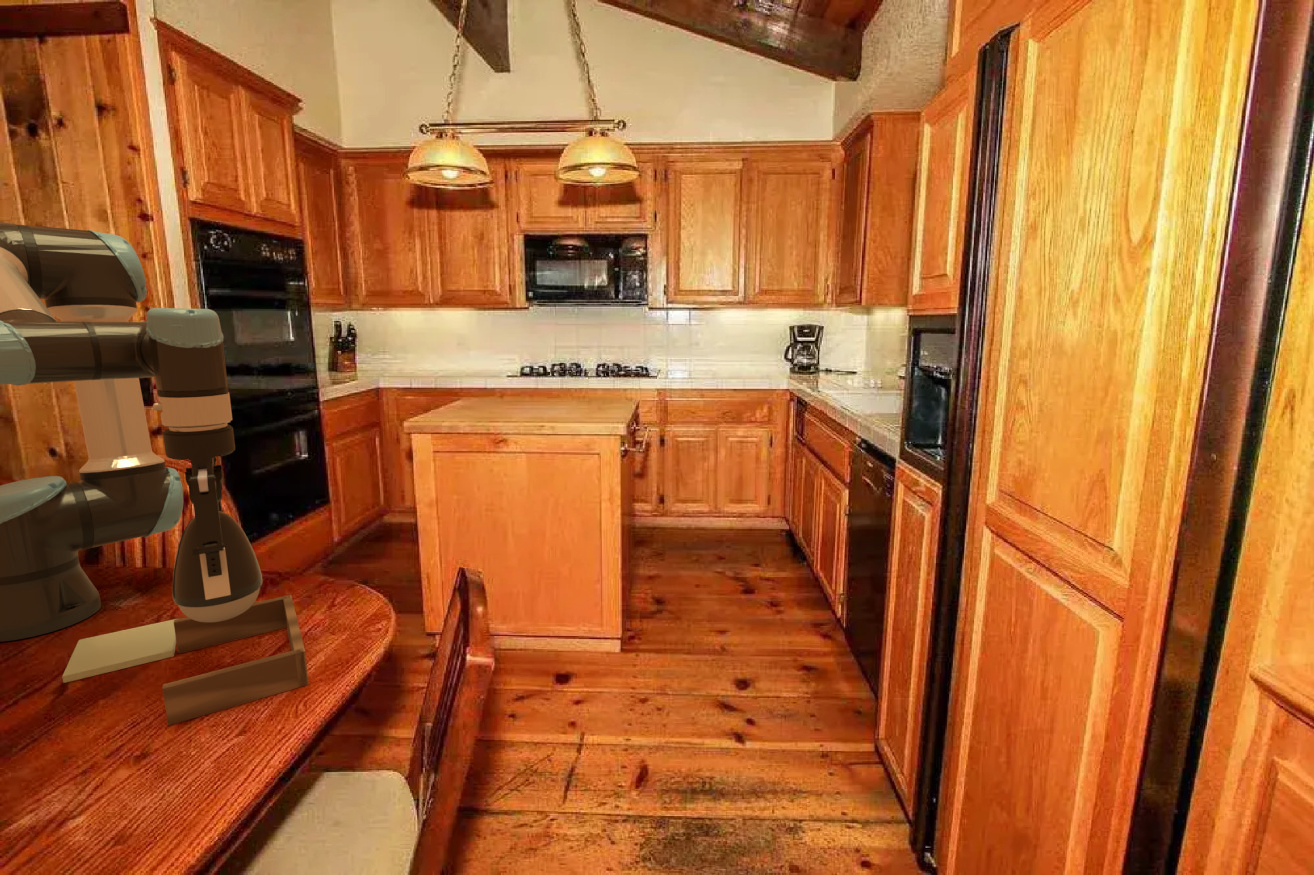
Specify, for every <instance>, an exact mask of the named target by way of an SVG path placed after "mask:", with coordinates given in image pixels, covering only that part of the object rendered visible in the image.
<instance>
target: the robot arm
mask: <svg viewBox="0 0 1314 875" xmlns="http://www.w3.org/2000/svg"><path fill="white" fill-rule="evenodd" d="M146 285H147V280H146V275H145V271H144V268H143V266H142V263H141V261H140V258H139V256H138V253H137V252H136V250H135V249H134V247H133V246H132V244H131V243H130V242H128V240H126V239H125V238H124V237H122V236H120V235H117V234H113V233H108V232H107V233H106V232H99V231H94V230H91V229H88V230H86V229H75V228H74V229H73V228H64V227H63V228H62V227H61V228H60V227H49V226H39V225H29V224H28V225H26V224H17V223H10V222H9V223H8V222H7V223H6V222H0V385H13V386H26V385H32V384H47V383H48V384H50V383H64V382H73V386H74V390H75V394H76V400H77V406H78V411H79V416H80V421H81V427H82V430H83V435H84V436H83V437H84V440H85V441H84V442H85V447H86V451H87V457H88V460H87V461H86V463H85V464H83V466H81V468H80V469H79V470H78V473H79V474H78V475H79V478H80V481H76V482H69V483H67V480H65V478H63V477H62V476H58V475H49V476H48V475H47V476H42V477H33V478H28V479H21V480H17V481H13V482H9V483H3V484H2V485H0V642H10V641H11V642H12V641H17V640H23V639H27V638H33V637H36V636H42V635H44V634H49V633H51V632H55V631H58V630H62V629H65V628H68V627H70V626H73V625H75V624H77V623H80V622H81V621H84V620H86V619H88V618H90V617H91V616H93V615H95V614H96V613H97V612H99V611H100V609H101V607H102V601H101V597H100V596H101V595H100V593H99V591H98V590H97V588H96V587H95V585H94V583H93V582H92V581H91V579H90V578H89V577H88V575H87V574H86V572H85V571H84V570H83V568H82V567H81V565H80V558H79V551H83V550H87V549H92V548H97V547H102V546H106V545H110V544H114V543H119V542H124V541H129V540H132V539H136V538H137V539H138V538H142V537H144V538H148V537H150V536H153V535H156V534H160V533H165V532H167V531H169V530H172V529H174V528H175V527H176V526H177V525H178V523H179V521H180V519H181V517H182V515H183V514H182V513H183V509H184V490H183V489H184V488H183V483H182V481H181V476H180V473H179V472H178V471H177V469H175V468H174V467H168V466H167V467H166V461H165V459H164V458H163V457H160V456H159V455H157V454H156V453H155V452H154V451H153V450H152V444H151V443H152V442H151V437H150V432H149V427H148V420H147V417H146V410H145V405H144V400H143V394H142V389H141V383H140V379H142V378H143V379H145V378H154V379H155V380H154V381H155V386H156V394H157V396H158V397H157V398H158V399H157V400H158V401H159V402H155V403H153V405H152V409H153V410H154V411H162V412H161V413H160V420H161V425H162V426H163V427H166V429H165V430H164V432H162V437H163V438H162V439H163V446H164V454H165V456H166V457H167V458H168V459H172V460H176V461H184V460H188V461H190V463H191V465H190V466H191V467H186V468H185V472H184V476H185V477H184V478H185V482H186V485H187V486H188V492H189V501H190V502H191V504H193V511H194V517H195V521H196V529H197V538H198V547H197V549H194V550H192V552H193V555H198V554H199V555H200V562H201V569H202V577H203V584H204V591H205V599H206V600H208V599H213V598H218V597H223V596H228V595H231V592H230V584H229V576H228V568H227V560H226V552H225V547H224V543H223V540H222V531H221V522H220V512H219V511H221V512H224V510H223V506H222V500H223V480H224V479H223V478H224V477H223V476H224V474H223V467H222V464H217V457H223V456H227V455H230V454H232V453H233V452H234V451H235V450H236V444H235V442H236V441H235V434H234V427H233V426H232V425H230V424H228V423H231V421H233V413H232V404H231V396H230V392H229V386H228V385H229V384H228V376H227V367H226V359H225V350H224V340H225V339H224V334H223V332H222V327H221V322H220V318H219V315H218V313H217V312H216V311H215V310H213V309H209V308H178V307H177V308H173V307H168V308H167V307H152V308H150V309H149V310H148V311H147V312H146V320H145V321H144V320H143V321H129V320H130V319H131V317H133V316H134V315H136V313H137V312H138V305H137V303H141V302H143V301H145V300H146V298H147V293H148V290H147V286H146ZM42 300H44V302H43V301H42ZM44 303H45V304H44ZM55 317H56V318H57V319H59V320H60V321H58V320H57V319H56V318H55ZM210 541H217V542H211V543H205V542H210Z"/></svg>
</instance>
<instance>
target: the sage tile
mask: <svg viewBox="0 0 1314 875" xmlns="http://www.w3.org/2000/svg"><path fill="white" fill-rule="evenodd" d="M176 619H177V618H174V619H169V620H165V621H161V622H154V623H151V624H150V623H149V624H145V625H142V626H136V627H133V628H127V629H123V630H117V631H114V632H108V633H104V634H100V635H99V634H98V635H95V636H91V637H86V638H81V639H79V640H78V641H77V643H76V646H75V648H74V650H73V652H72V654H71V655H70V656H71V657H70V659H69V661H68V663H67V665H66V666H65V670H64V672H63V674H62V676H61V678H62V682H63V684H64V683H65V684H66V683H70V682H73V681H78V680H81V679H86V678H90V677H94V676H98V675H103V674H106V673H110V672H116V671H118V670H122V669H123V670H124V669H126V668H133V667H136V666H140V665H143V664H148V663H151V662H156V661H160V660H165V659H168V658H172V657H174V656H175V651H176V647H177V642H176V635H175V629H174V620H176Z"/></svg>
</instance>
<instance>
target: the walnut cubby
mask: <svg viewBox="0 0 1314 875" xmlns="http://www.w3.org/2000/svg"><path fill="white" fill-rule="evenodd" d="M175 619H176V620H174V629H175V635H176V647H177V648H176V649H177V653H178V655H179V654H184V653H188V652H191V651H195V650H200V649H204V648H208V647H212V646H216V645H220V644H224V643H229V642H233V641H236V640H237V641H238V640H242V639H245V638H248V637H253V636H257V635H262V634H266V633H270V632H273V631H278V630H282V629H286V631H287V632H286V633H287V636H288V640H289V646H290V651H285V652H282V653H278V654H274V655H270V656H267V657H263V658H262V657H261V658H260V659H259V658H258V659H255V660H251V661H247V662H243V663H239V664H236V665H233V666H228V667H224V668H221V669H217V670H213V671H212V670H211V671H209V672H206V673H202V674H198V675H194V676H190V677H186V678H182V679H179V680H174V681H171V682H168V683H167V682H166V683H164V684H163V683H162V694H163V701H164V708H165V713H166V720H167V725H168V726H172V725H175V724H178V723H182V722H186V721H190V720H192V719H195V718H199V717H202V716H206V715H209V714H213V713H217V712H219V711H224V710H226V709H229V708H233V707H234V708H235V707H237V706H240V705H241V706H242V705H244V704H247V703H251V702H254V701H257V700H261V699H264V698H267V697H272V696H275V695H277V694H281V693H284V692H288V691H292V690H295V689H299V688H302V687H305V686H308V685H310V683H309V674H308V666H307V664H308V663H307V656H306V650H305V646H304V641H303V637H302V633H301V628H300V624H299V621H298V617H297V613H296V609H295V605H294V600H293V597H292V594H289V595H284V596H279V597H274V598H270V599H266V600H265V599H264V600H261V601H255V602H254V603H253V605H252V606H251V607H250V608H249V609H248V610H246V611H245V612H243V613H242V614H240V615H238V616H236V617H234V618H231V619H228V620H224V621H220V622H199V621H195V620H192V619H190V618H188V617H187V616H186V617H182V618H175Z"/></svg>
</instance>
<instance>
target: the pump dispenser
mask: <svg viewBox="0 0 1314 875" xmlns="http://www.w3.org/2000/svg"><path fill="white" fill-rule="evenodd" d="M219 512H220V522H221V531H222V540H223V543H224V547H225V552H226V560H227V568H228V576H229V584H230V592H231V595H228V596H223V597H218V598H213V599H208V600H206V599H205V591H204V584H203V577H202V569H201V562H200V555H199V554H198V555H193V552H192V550H194V549H197V547H198V538H197V529H196V521H195V516H194V517H193V518H191V519H190V521H189V522H188V523H187V525H186V527H185V528H184V530H183V533H182V535H181V536H180V540H179V543H178V547H177V550H176V556H175V559H174V560H175V561H174V567H173V574H172V585H171V586H172V589H171V591H172V599H173V602H174V603H175V605H177V606H178V608H179V610H180V611H181V613H182V614H183V615H184V616H186V617H188V618H190V619H192V620H195V621H199V622H220V621H224V620H228V619H231V618H234V617H236V616H238V615H240V614H242V613H243V612H245V611H246V610H248V609H249V608H250V607H251V606H252V605H253V603H255V602H257V601H256V600H257V599H258V596H259V593H260V590H261V587H262V585H263V575H262V571H261V568H260V564H259V562H258V559H257V556H256V553H255V550H254V549H253V547H252V544H251V542H250V541H249V538H248V536H247V535H246V533H245V531H244V529H243V528H242V527H241V525H240V524H239V523H238V521H236V520H235V519H234V517H232V516H231V515H230V514H228V513H227V512H224V511H223V512H221V511H219ZM211 542H217V541H210V542H205V543H211Z"/></svg>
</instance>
